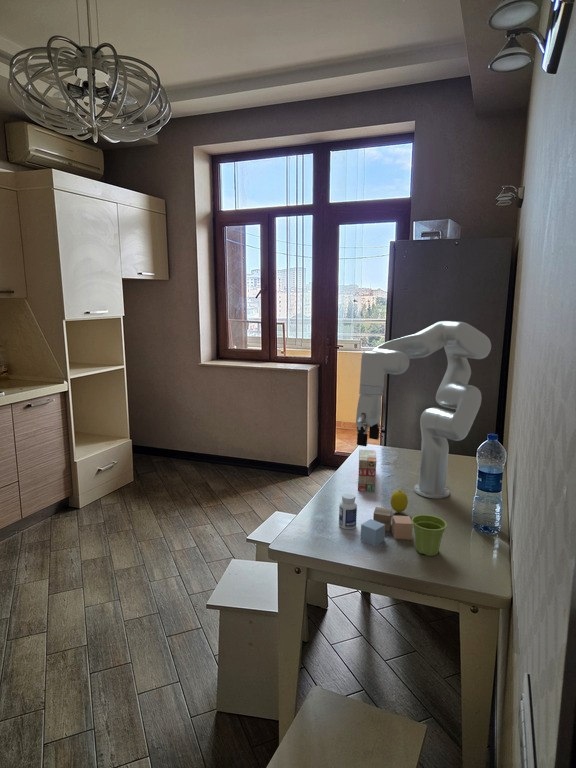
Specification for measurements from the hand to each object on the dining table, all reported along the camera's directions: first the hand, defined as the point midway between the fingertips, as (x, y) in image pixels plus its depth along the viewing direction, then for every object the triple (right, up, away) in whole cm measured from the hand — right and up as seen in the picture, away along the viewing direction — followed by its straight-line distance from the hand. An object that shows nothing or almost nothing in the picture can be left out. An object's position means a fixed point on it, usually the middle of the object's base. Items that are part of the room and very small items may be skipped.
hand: (367, 442), depth 152 cm
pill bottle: (-7, -26, -5) cm, 27 cm away
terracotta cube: (+8, -27, -11) cm, 30 cm away
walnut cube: (+3, -26, -5) cm, 26 cm away
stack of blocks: (+5, -19, +32) cm, 38 cm away
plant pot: (+13, -28, -19) cm, 37 cm away
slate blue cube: (-1, -27, -14) cm, 31 cm away
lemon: (+11, -24, +4) cm, 27 cm away
